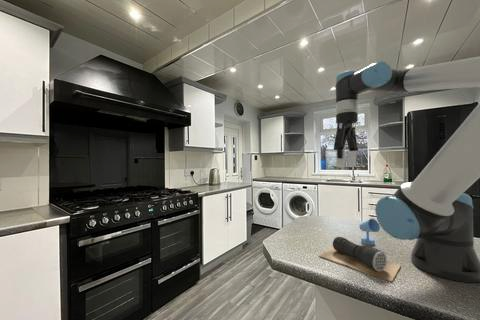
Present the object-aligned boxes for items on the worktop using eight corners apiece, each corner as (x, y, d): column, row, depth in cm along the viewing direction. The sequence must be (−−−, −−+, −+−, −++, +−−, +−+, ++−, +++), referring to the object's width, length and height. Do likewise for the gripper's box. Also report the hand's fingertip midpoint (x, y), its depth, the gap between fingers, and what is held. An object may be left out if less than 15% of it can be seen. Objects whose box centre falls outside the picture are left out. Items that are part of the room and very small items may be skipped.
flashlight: (331, 251, 71) (330, 236, 71) (342, 249, 73) (342, 234, 73) (374, 273, 57) (374, 254, 57) (387, 269, 59) (386, 250, 59)
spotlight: (382, 246, 76) (366, 239, 83) (381, 219, 76) (366, 215, 83) (371, 247, 75) (356, 240, 82) (370, 220, 75) (356, 215, 82)
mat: (400, 266, 61) (400, 265, 61) (391, 282, 53) (391, 280, 53) (333, 246, 76) (333, 245, 76) (318, 256, 68) (318, 255, 68)
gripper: (346, 118, 91) (346, 166, 91) (324, 109, 73) (324, 167, 73) (365, 116, 85) (366, 166, 85) (346, 105, 68) (346, 168, 68)
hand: (346, 167), depth 79 cm, fingers open, 13 cm apart
